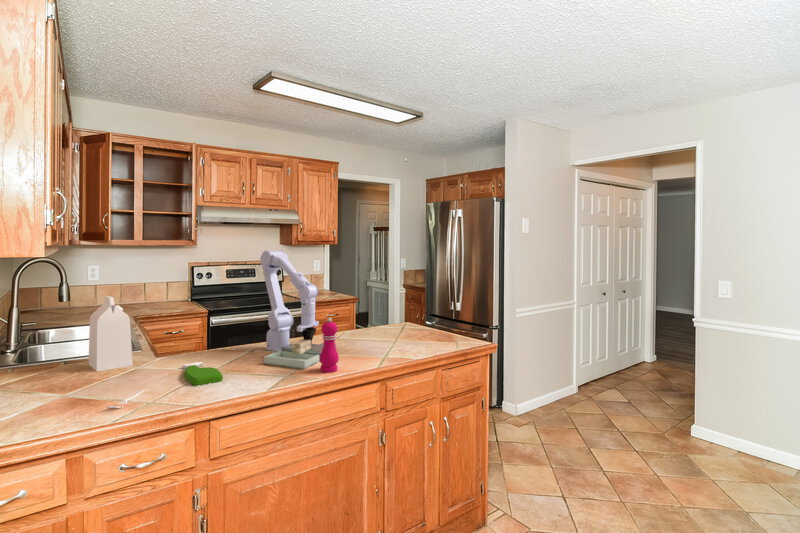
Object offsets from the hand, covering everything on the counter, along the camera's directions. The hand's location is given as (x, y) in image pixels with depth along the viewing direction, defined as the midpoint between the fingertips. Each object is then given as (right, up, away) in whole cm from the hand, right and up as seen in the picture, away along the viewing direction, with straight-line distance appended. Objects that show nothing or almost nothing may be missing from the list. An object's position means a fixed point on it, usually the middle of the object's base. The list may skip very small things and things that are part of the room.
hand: (308, 345), depth 185 cm
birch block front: (-2, -2, -7) cm, 7 cm away
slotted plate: (0, -4, +1) cm, 4 cm away
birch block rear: (-1, -2, -3) cm, 3 cm away
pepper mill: (+12, -6, -20) cm, 24 cm away
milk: (-71, -4, -19) cm, 74 cm away
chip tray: (-4, -5, -11) cm, 13 cm away
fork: (-43, -7, -52) cm, 68 cm away
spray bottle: (-33, -6, -28) cm, 44 cm away
